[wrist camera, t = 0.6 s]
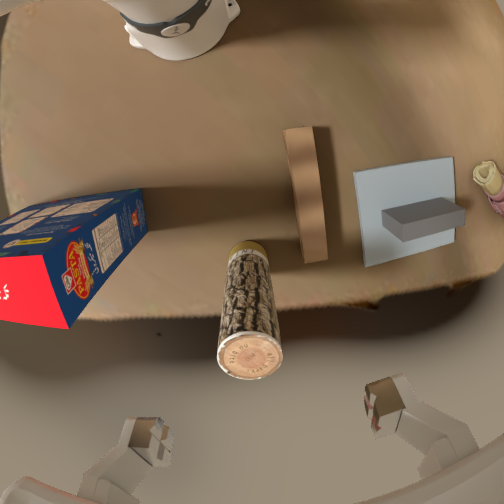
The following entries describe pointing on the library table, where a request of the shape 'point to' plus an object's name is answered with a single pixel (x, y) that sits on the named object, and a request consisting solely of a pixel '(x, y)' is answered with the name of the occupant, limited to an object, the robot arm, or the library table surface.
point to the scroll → (491, 184)
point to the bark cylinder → (249, 316)
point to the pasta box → (65, 254)
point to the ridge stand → (406, 208)
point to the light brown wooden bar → (306, 193)
